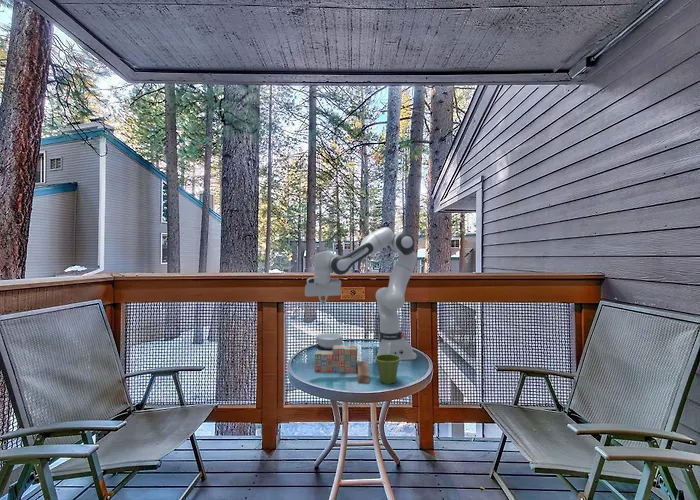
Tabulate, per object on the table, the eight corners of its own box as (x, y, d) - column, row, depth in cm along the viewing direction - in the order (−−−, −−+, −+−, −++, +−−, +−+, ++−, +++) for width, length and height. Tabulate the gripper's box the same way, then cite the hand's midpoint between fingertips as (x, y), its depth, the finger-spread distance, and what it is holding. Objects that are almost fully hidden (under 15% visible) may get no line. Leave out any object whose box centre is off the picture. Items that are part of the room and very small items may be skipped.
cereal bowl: (344, 350, 217) (344, 338, 217) (317, 351, 214) (317, 340, 214) (339, 342, 234) (339, 331, 234) (314, 344, 231) (314, 333, 230)
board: (366, 368, 186) (366, 361, 186) (369, 383, 166) (369, 375, 166) (357, 368, 186) (357, 361, 186) (358, 383, 166) (358, 375, 166)
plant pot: (396, 376, 175) (396, 353, 174) (403, 385, 163) (403, 361, 163) (372, 377, 173) (372, 354, 173) (378, 387, 161) (378, 362, 161)
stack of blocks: (314, 372, 180) (314, 348, 180) (316, 367, 187) (316, 344, 186) (356, 373, 179) (356, 349, 178) (357, 369, 185) (357, 345, 185)
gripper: (341, 277, 201) (342, 302, 201) (305, 279, 201) (305, 303, 201) (341, 279, 195) (341, 304, 195) (303, 280, 195) (304, 305, 195)
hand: (323, 303), depth 198 cm, fingers closed
